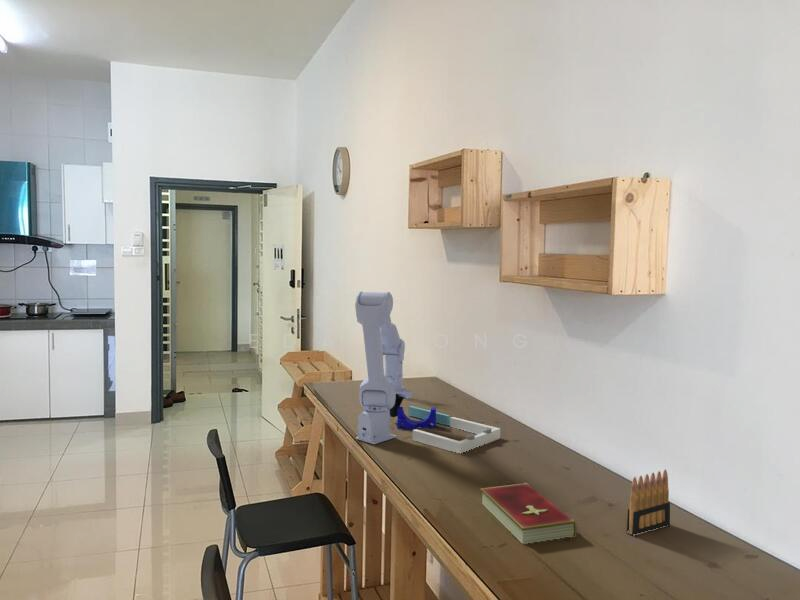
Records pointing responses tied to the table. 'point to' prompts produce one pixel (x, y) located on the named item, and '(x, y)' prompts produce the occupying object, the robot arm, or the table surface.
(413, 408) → the gate
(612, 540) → the table surface
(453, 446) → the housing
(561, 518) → the hardcover book
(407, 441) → the table surface
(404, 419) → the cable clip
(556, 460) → the table surface
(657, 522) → the ammunition clip
